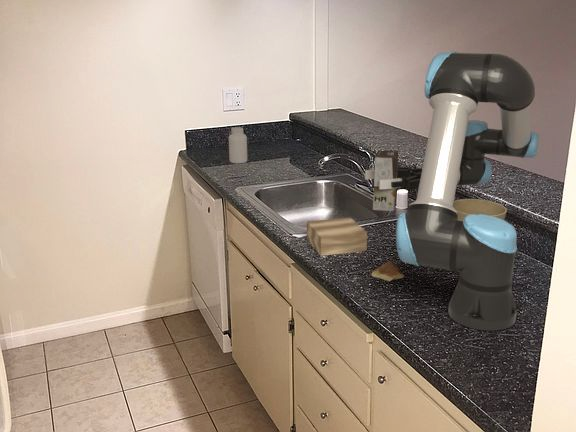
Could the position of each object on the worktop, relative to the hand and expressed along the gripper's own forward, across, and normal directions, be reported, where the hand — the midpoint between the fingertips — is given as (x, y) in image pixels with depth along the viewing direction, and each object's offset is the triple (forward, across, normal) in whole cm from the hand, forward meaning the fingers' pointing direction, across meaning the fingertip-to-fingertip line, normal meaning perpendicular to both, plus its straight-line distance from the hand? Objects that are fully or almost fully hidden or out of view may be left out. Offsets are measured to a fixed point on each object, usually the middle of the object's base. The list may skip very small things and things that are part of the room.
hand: (372, 179), depth 193 cm
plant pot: (-22, -22, -20) cm, 37 cm away
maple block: (+11, 0, -20) cm, 22 cm away
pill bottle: (+20, +107, -19) cm, 111 cm away
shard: (+5, -23, -20) cm, 31 cm away
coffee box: (-4, 0, -9) cm, 10 cm away
